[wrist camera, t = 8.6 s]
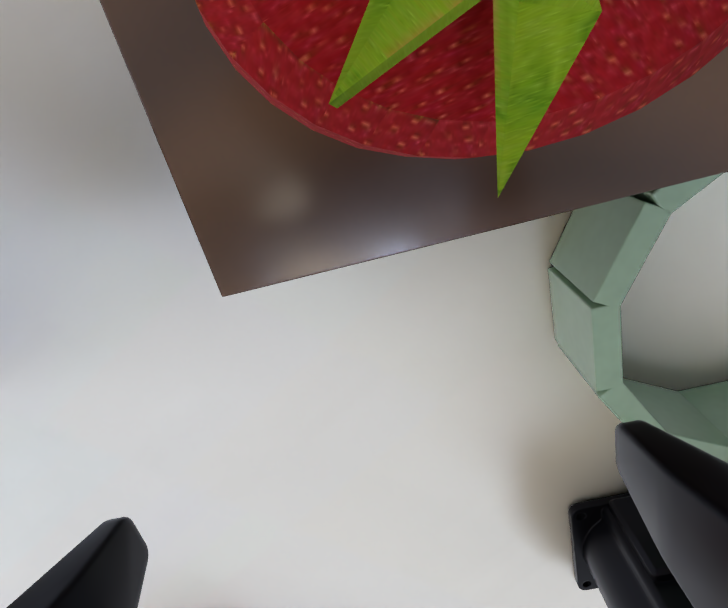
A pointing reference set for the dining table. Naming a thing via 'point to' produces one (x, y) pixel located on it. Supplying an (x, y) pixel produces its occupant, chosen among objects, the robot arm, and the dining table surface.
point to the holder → (603, 314)
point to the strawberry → (464, 66)
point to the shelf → (373, 162)
